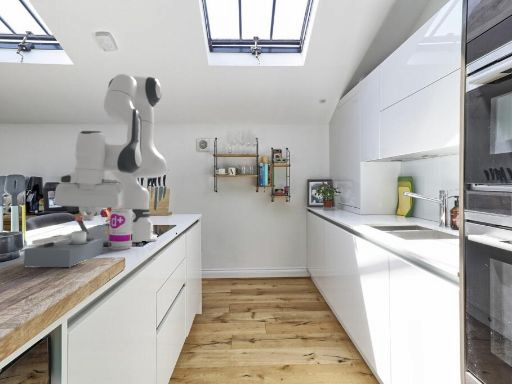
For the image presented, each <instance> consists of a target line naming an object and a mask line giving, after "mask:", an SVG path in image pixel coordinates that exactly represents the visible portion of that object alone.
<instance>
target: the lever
mask: <svg viewBox="0 0 512 384" xmlns="http://www.w3.org/2000/svg"><path fill="white" fill-rule="evenodd" d="M75 222H77V224H78V225H79V227H80V229H81V231H85V232H86V236H87V235H89V234H90V233H89V231H88V229H87V227H86V224H85V223H84V221H83V220H82V215H78V216H76V217H75Z"/></svg>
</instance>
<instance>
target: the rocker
mask: <svg viewBox="0 0 512 384" xmlns="http://www.w3.org/2000/svg"><path fill="white" fill-rule="evenodd" d="M65 238H66V235H65V234H63V235H62V234H58V235H53V236H51V237H45V238H39V239H35V240H32V241H31V243H32V245H37V244H38V245H39V244H42V243H43V244H44V243H50V242H54V241H57V240H61V239H65Z"/></svg>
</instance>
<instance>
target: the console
mask: <svg viewBox="0 0 512 384" xmlns="http://www.w3.org/2000/svg"><path fill="white" fill-rule="evenodd" d="M71 238H72V237H65V238H64V239H60V240H55V241H49V242H45V243H43V244H42V243H41V244H38V245H33V246H30V247H28V248H24V254H23V256H24V259H23V267H24V266H40V267H70V266H72V265H74V264H77V263H79V262H81V261H84V260H86V259H89V260H91V259H94V258H95V257H98V256H100V255H103V252H104V238H95V237H92V236H89V237H88V236H86V244H81V245H73V244H71ZM90 258H91V259H90ZM84 262H85V261H84Z"/></svg>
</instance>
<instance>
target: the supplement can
mask: <svg viewBox="0 0 512 384" xmlns="http://www.w3.org/2000/svg"><path fill="white" fill-rule="evenodd" d="M108 225H109V228H108V229H109V230H108V248H109V249H110V250H115V251H119V250H120V251H121V250H122V251H123V250H129V249H131V248H132V247H133V242H132V232H133V211H132V209H122V208H111V211H110V212H109V224H108Z"/></svg>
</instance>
